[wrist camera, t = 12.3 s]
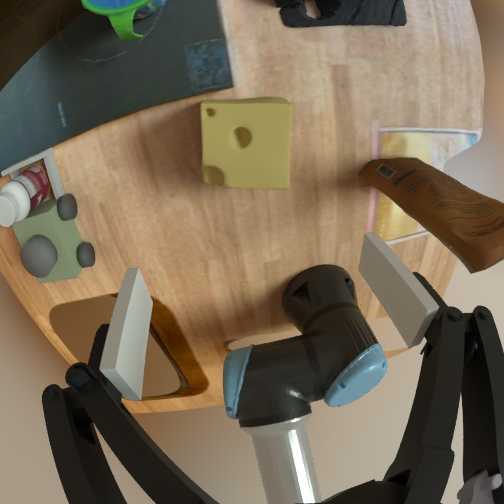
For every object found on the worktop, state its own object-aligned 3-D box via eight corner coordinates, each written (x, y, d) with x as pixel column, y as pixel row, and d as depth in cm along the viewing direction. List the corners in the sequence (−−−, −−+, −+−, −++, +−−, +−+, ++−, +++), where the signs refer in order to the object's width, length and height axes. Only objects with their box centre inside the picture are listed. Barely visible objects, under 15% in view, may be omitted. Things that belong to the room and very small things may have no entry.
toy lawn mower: (97, 257, 43) (81, 291, 36) (47, 266, 42) (28, 297, 35) (59, 144, 31) (29, 161, 24) (8, 166, 30) (-23, 187, 23)
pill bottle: (37, 205, 36) (4, 239, 27) (20, 177, 32) (-18, 206, 23) (58, 187, 35) (24, 219, 26) (40, 157, 31) (1, 182, 22)
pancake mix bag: (350, 151, 40) (487, 248, 17) (434, 148, 41) (552, 221, 18) (350, 189, 43) (463, 305, 20) (431, 180, 44) (536, 263, 21)
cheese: (201, 169, 38) (199, 194, 30) (199, 95, 32) (197, 97, 24) (272, 167, 40) (291, 191, 31) (276, 96, 34) (298, 99, 25)
